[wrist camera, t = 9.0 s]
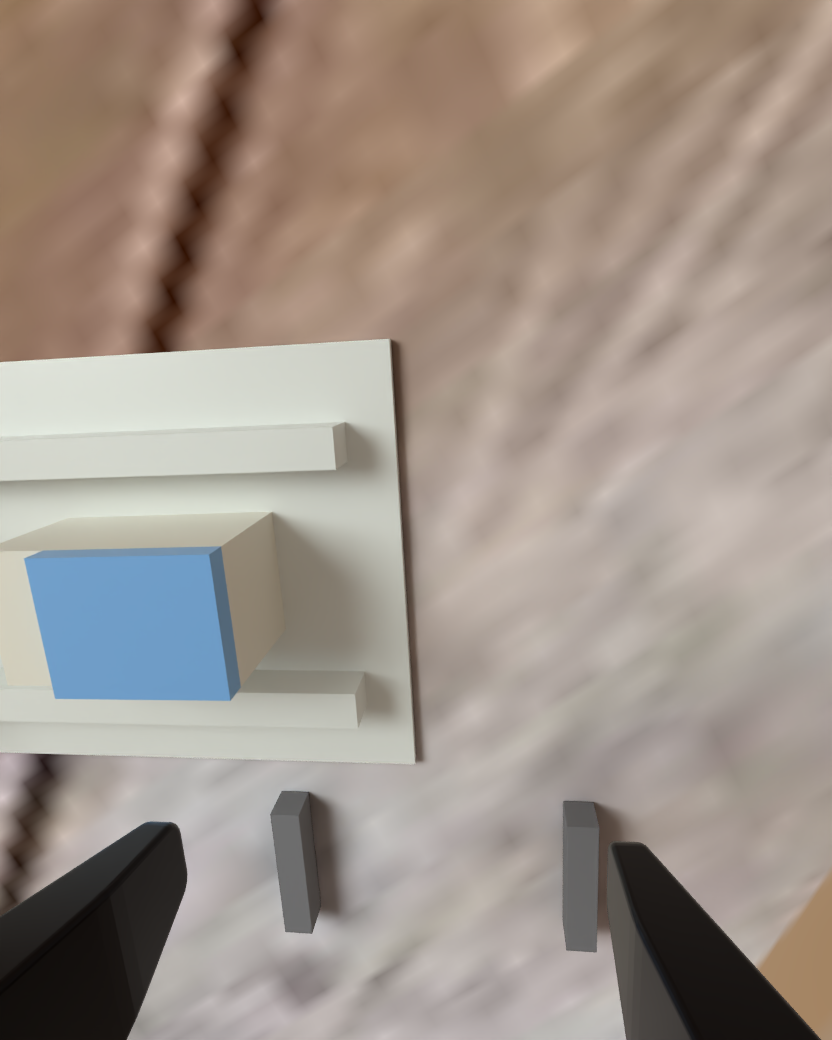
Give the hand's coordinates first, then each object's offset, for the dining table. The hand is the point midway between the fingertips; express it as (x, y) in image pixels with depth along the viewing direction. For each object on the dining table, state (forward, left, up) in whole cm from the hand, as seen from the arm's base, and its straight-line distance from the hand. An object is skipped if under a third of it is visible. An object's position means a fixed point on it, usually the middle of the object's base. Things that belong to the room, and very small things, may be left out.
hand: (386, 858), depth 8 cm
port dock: (0, +11, -12) cm, 16 cm away
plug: (0, +9, -12) cm, 15 cm away
